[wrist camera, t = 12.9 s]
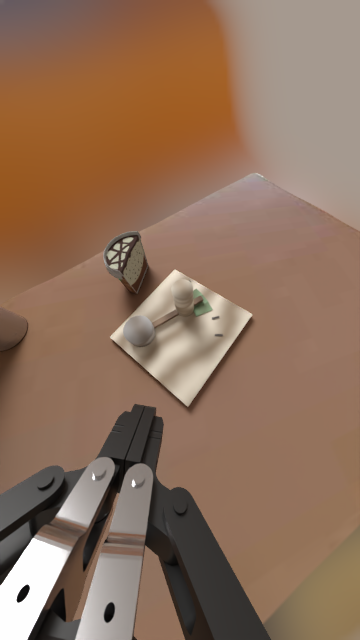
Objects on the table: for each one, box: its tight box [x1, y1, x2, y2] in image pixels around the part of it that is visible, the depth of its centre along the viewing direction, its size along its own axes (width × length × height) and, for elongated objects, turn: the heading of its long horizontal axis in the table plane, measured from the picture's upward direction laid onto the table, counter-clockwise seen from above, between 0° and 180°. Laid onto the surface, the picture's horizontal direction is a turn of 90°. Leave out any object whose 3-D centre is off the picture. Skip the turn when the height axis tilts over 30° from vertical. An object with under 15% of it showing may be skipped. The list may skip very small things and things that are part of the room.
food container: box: [104, 231, 148, 294], centre depth 41 cm, size 12×6×10 cm, turn 166°
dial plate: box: [110, 270, 253, 407], centre depth 37 cm, size 22×23×1 cm
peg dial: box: [123, 279, 203, 347], centre depth 34 cm, size 18×6×8 cm, turn 120°
